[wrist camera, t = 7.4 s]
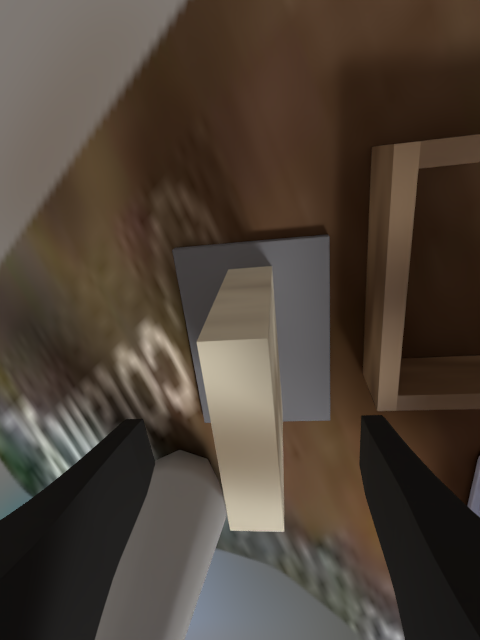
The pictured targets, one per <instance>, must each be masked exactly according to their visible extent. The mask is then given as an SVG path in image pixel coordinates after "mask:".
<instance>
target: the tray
mask: <svg viewBox="0 0 480 640" xmlns="http://www.w3.org/2000/svg"><path fill="white" fill-rule="evenodd" d="M477 162H480V134H474V135H466V136H457V137H449V138H440V139H432V140H423V141H415V142H406V143H398V144H389V145H381V146H373V147H372V155H371V180H370V204H369V229H368V253H367V278H366V303H365V327H364V352H363V376H364V378H365V381H366V383H367V386H368V389H369V391H370V394H371V396H372V399H373V402H374V404H375V407H376V409H377V411H407V410H454V409H480V355H475V356H451V357H426V358H401V353H402V342H403V331H404V320H405V310H406V299H407V288H408V277H409V266H410V255H411V244H412V233H413V222H414V211H415V200H416V189H417V178H418V169H421V168H431V167H440V166H449V165H458V164H468V163H477Z"/></svg>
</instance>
